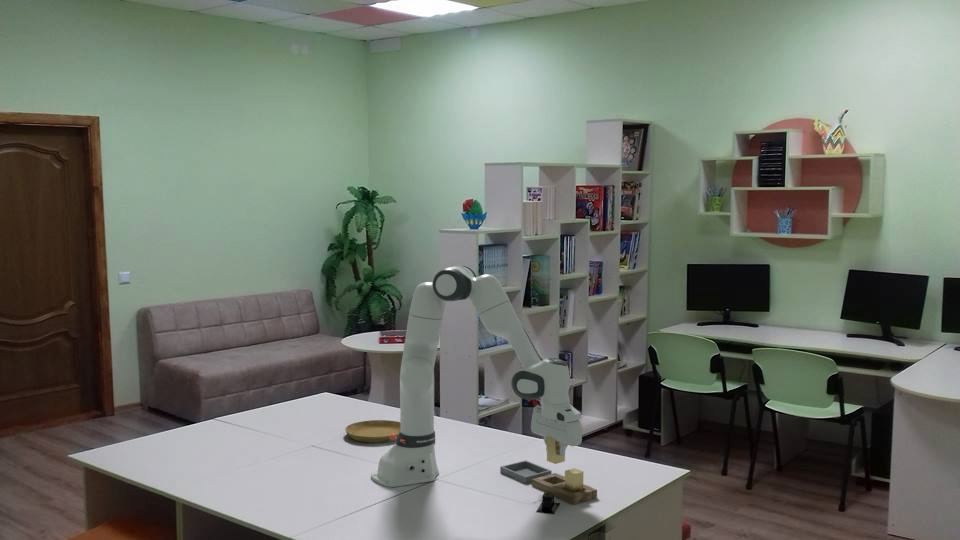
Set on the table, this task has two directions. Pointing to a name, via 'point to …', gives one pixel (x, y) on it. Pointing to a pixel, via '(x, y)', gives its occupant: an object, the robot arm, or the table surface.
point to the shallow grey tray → (524, 471)
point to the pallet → (563, 489)
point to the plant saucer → (373, 430)
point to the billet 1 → (554, 451)
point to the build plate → (548, 504)
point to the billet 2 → (574, 480)
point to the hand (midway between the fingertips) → (555, 453)
